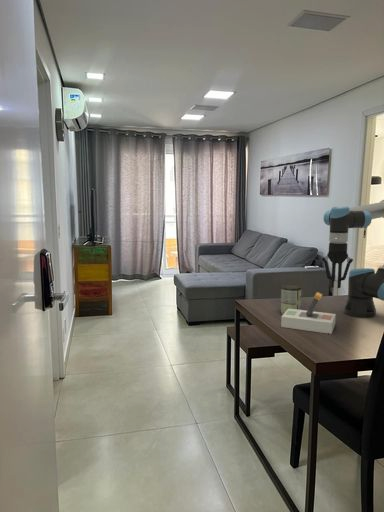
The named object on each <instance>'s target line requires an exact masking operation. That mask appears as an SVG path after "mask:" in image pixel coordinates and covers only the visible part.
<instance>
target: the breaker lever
mask: <svg viewBox="0 0 384 512" xmlns="http://www.w3.org/2000/svg"><path fill="white" fill-rule="evenodd" d="M322 297H323V293H321V292H319V291H317V292H316V293H315V294H314V296H313V300H312V301H311V303H310V306H309V307H308V310H306V311H307V312H306V315H307V316H311V315H312V313H313V312H315V311H314V310H315V309H316V307H317V304H318V303H319V301H320V300H321V298H322Z"/></svg>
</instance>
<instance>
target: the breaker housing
mask: <svg viewBox="0 0 384 512" xmlns="http://www.w3.org/2000/svg"><path fill="white" fill-rule="evenodd" d="M307 311H308V310H304V309H301V310H297V309H288V310H287V311H286V312H285V313H284V314H282V316H280V317H281V321H280V325H281V326H280V327H281V328H286V329H293V330H301V331H309V332H315V333H323V334H328V333H329V335H332V334H333V331H334V329H335V326H336V318H337V315H336V313H329V312H321V311H314V312H313V313H312V315H311V316H307V315H306V312H307Z"/></svg>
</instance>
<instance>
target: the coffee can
mask: <svg viewBox="0 0 384 512" xmlns="http://www.w3.org/2000/svg"><path fill="white" fill-rule="evenodd" d="M280 286H281V287H280V289H281V290H280V313H281V314H282V315H283V314H284V313H285V312H286V311H287V310H288V309H297V310H302V287H303V286H302V285H299V284H295V283H287V284H286V283H285V284H282V285H280Z"/></svg>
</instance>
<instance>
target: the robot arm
mask: <svg viewBox="0 0 384 512" xmlns="http://www.w3.org/2000/svg"><path fill="white" fill-rule="evenodd" d="M381 218H382V219H384V199H382V200H380V201H379V202H375V203H368V204H362V205H358V206H357V205H356V206H352V207H349V206H332V207H331V209H329V210H326V211H325V212H324V214H323V223H324V224H325V225H327V226H329V236H328V237H329V238H328V241H329V243H328V252H327V255H325V256H323V257H322V258H321V260H322V262H323V264H324V268H325V274H326V278H327V279H328V280H330V281H331V284H330V287H331V289H333V296H335V297H337V296H338V295H339V289H341V287H342V281H345V280H346V278H347V275H348V282H347V283H348V284H347V285H348V287H347V288H348V289H347V290H348V291H347V295H348V296H347V299H346V301H345V304H344V306H343V313H344V314H345V315H348V316H351V317H356V318H374V317H375V316H376V315H377V308H376V305H375V303H374V302H375V301H374V298H375V299H378V300H381V301H382V302H384V264H383V266H379V267H378V268H377V269H376V270H375V269H374V268H364V267H363V268H352V269H350V265H351V263H352V262H353V261H354V259H353V258H351V257H350V256H349V254H348V243H347V242H348V239H349V229H363V228H368V227H369V226H370V225H371V223H372V220H376V219H381ZM329 261H330V262H331V271H330V266H329ZM345 261H346V266H345V269H344V272H343V274H342V270H343V269H342V268H343V263H344V262H345ZM336 266H338V267H337V268H336ZM336 269H338V270H337V279H336ZM349 269H350V271H349ZM348 271H349V272H348Z"/></svg>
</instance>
